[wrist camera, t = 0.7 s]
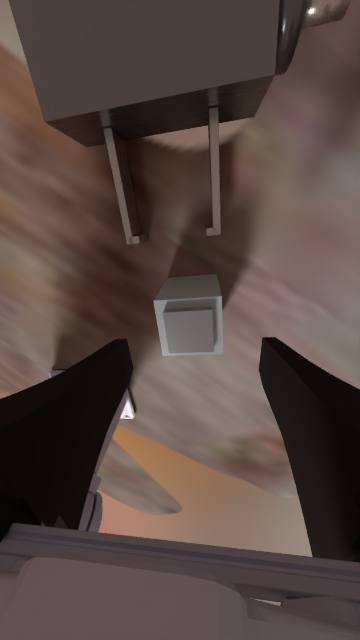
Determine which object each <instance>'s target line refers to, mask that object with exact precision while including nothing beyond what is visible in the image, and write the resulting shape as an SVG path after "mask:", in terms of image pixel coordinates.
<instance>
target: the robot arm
mask: <svg viewBox="0 0 360 640" xmlns="http://www.w3.org/2000/svg"><path fill="white" fill-rule="evenodd" d="M132 372H133V365H132V360H131V356H130V351H129V346H128V342H127V339H116V340H114V341H112V342H110V343H109V344H107V345H105V346H104V347H102V348H101V349H99V350H98V351H96V352H95V353H93V354H91V355H90V356H88V357H87V358H85V359H84V360H82V361H80V362H79V363H77V364H75V365H74V366H72V367H70V368H69V369H67V370H52V371H51V372H50V373H49V377H50V378H49V379H47V380H45V381H43V382H41V383H39V384H36V385H34V386H32V387H29V388H27V389H25V390H22V391H20V392H18V393H15V394H12V395H10V396H7V397H5V398H2V399H0V640H360V389H358V388H356V387H354V386H352V385H350V384H348V383H346V382H344V381H342V380H340V379H338V378H337V377H335V376H333V375H331V374H330V373H328V372H326V371H325V370H323V369H321V368H320V367H318V366H316V365H315V364H313V363H312V362H310V361H309V360H307V359H306V358H304V357H303V356H301V355H300V354H298V353H297V352H296V351H294V350H293V349H291V348H290V347H289V346H287V345H286V344H284V343H283V342H282V341H280V340H279V339H277V338H275V337H263V338H262V347H261V355H260V364H259V372H260V377H261V381H262V385H263V388H264V391H265V393H266V396H267V398H268V401H269V403H270V406H271V408H272V411H273V414H274V416H275V419H276V421H277V424H278V426H279V429H280V432H281V434H282V437H283V441H284V444H285V448H286V451H287V455H288V458H289V462H290V465H291V469H292V473H293V477H294V480H295V484H296V488H297V492H298V496H299V500H300V504H301V508H302V512H303V516H304V520H305V525H306V529H307V534H308V538H309V542H310V547H311V551H312V556H313V557H307V556H298V555H289V554H281V553H271V552H264V551H255V550H246V549H237V548H229V547H220V546H211V545H203V544H194V543H185V542H177V541H167V540H159V539H150V538H141V537H133V536H124V535H115V534H107V533H98V531H99V528H100V524H101V519H102V496H101V494H100V493H99V492H97V489H98V486H99V484H100V481H101V478H100V477H99V476H97V475H96V474H97V472H98V470H99V467H100V465H101V463H102V460H103V458H104V455H105V453H106V451H107V448H108V446H109V443H110V441H111V439H112V436H113V434H114V431H115V429H116V427H117V424H118V422H119V420H120V418H125V419H132V418H134V416H135V413H134V409H133V406H132V402H131V399H130V395H129V392H128V388H127V387H128V385H129V382H130V378H131V375H132ZM251 598H253V599H251ZM255 599H261V600H268V601H274V602H281V605H280V606H278V605H274V604H270V603H266V602H262V601H258V600H255Z"/></svg>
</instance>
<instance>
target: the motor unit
mask: <svg viewBox="0 0 360 640" xmlns="http://www.w3.org/2000/svg"><path fill="white" fill-rule="evenodd" d="M9 3H10V6H11V10H12V13H13V16H14V20H15V23H16V27H17V30H18V33H19V37H20V40H21V43H22V47H23V50H24V54H25V57H26V60H27V64H28V67H29V71H30V74H31V77H32V81H33V84H34V87H35V91H36V94H37V98H38V101H39V104H40V108H41V111H42V114H43V118H44V121H45V122H46V123H47V124H49V125H51V126H52V127H54V128H56V129H57V130H59V131H61V132H62V133H64V134H66V135H67V136H69V137H70V138H72V139H74V140H75V141H77V142H79V143H80V144H82V145H84V146H85V147H90V146H96V145H101V144H107V149H108V154H109V159H110V163H111V168H112V173H113V178H114V183H115V188H116V193H117V197H118V202H119V207H120V212H121V217H122V222H123V227H124V232H125V236H126V241H127V245H128V244H138V243H142V242H144V241H147V240H148V238H147V234H142V235H141V231H140V225H139V219H138V214H137V208H136V202H135V196H134V191H133V185H132V179H131V173H130V168H129V162H128V156H127V150H126V145H125V141H124V140H129V139H134V138H140V137H145V136H151V135H156V134H162V133H167V132H172V131H179V130H184V129H190V128H195V127H201V126H206V125H208V130H209V157H210V184H211V211H212V227H206V236H212V235H221V225H220V177H219V129H218V123H223V122H228V121H234V120H239V119H245V118H251V117H254V116H255V114H256V112H257V110H258V108H259V106H260V104H261V102H262V100H263V98H264V96H265V94H266V92H267V89H268V87H269V85H270V83H271V81H272V79H273V77H274V76H276V75H280V74H284V73H285V72H286V71H287V69H288V67H289V65H290V63H291V60H292V57H293V55H294V51H295V48H296V45H297V41H298V38H299V34H300V30H301V29H305V28H309V27H313V26H318V25H322V24H326V23H331V22H335V21H339V20H341V19H342V18H343V17H344V15H345V13H346V11H347V9H348V6H349V3H350V0H9Z"/></svg>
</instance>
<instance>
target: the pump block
mask: <svg viewBox="0 0 360 640" xmlns="http://www.w3.org/2000/svg"><path fill="white" fill-rule="evenodd" d="M153 302H154V308H155V313H156V319H157V325H158V331H159V336H160V342H161V348H162V354H163V356H182V355H218V354H223V329H222V295H221V290H220V286H219V282H218V278H217V274H207V275H195V276H182V277H170V278H167V279H166V281H165V282H164V284H163V286H162V287H161V289H160V291H159V292H158V294H157V295H156V297H155V299H154V300H153Z"/></svg>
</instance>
